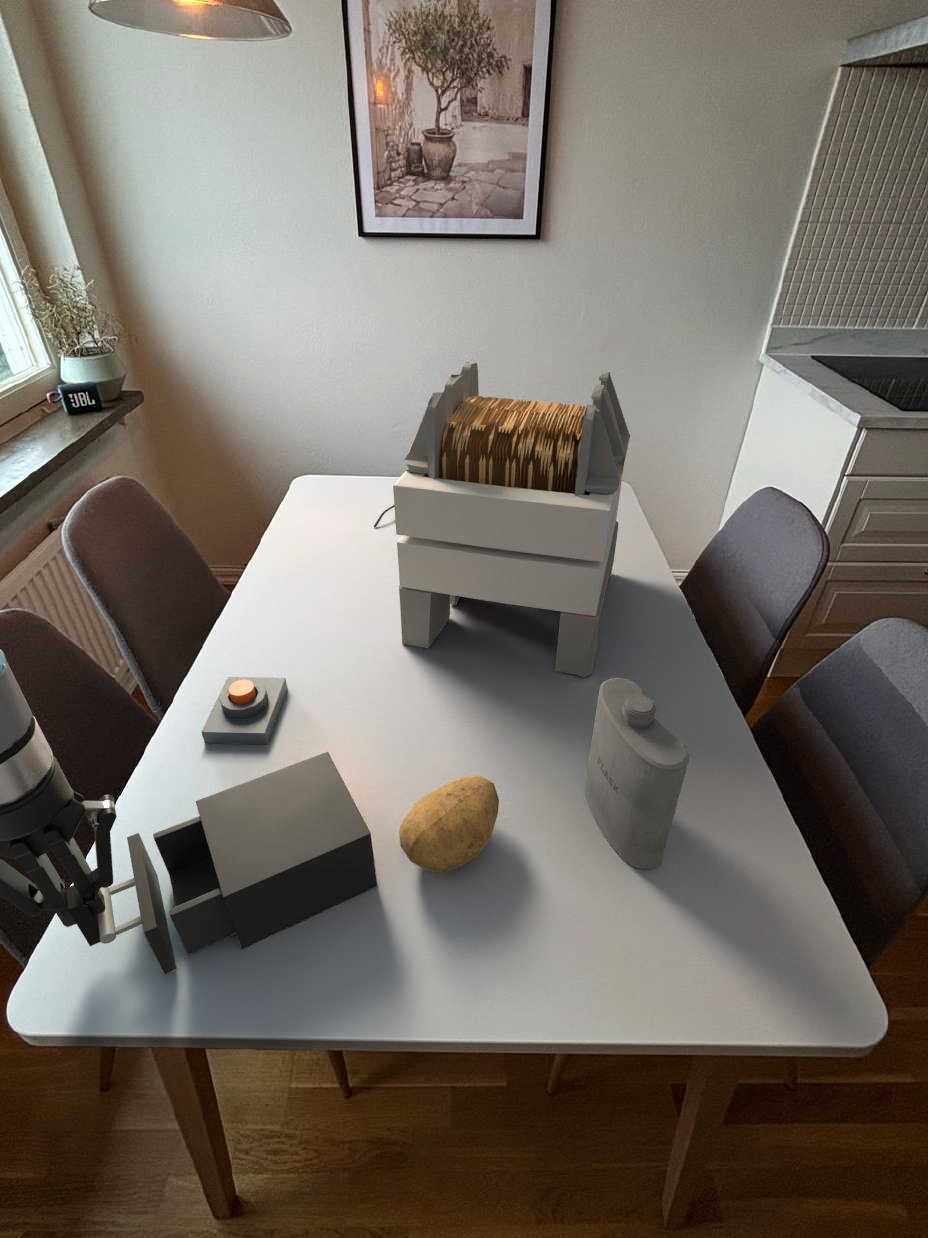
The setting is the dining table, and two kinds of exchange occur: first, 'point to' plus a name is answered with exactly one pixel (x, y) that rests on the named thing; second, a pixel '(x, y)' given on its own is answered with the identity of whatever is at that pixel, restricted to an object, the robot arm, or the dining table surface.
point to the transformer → (511, 510)
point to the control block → (246, 713)
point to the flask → (633, 773)
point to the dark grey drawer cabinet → (287, 847)
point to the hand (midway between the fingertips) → (96, 931)
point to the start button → (242, 691)
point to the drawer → (193, 888)
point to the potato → (450, 824)
